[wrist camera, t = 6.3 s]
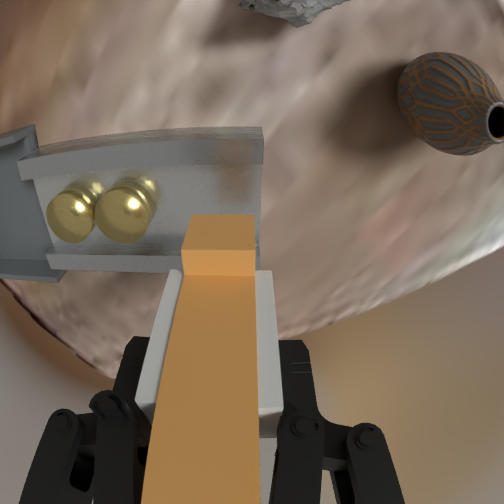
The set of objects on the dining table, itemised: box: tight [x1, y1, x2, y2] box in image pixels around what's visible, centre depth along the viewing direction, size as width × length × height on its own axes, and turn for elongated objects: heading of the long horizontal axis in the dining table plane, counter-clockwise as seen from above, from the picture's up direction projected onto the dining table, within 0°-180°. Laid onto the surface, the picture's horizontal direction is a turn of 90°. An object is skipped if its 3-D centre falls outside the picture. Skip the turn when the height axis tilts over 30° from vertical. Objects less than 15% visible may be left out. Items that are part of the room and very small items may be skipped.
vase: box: [397, 52, 504, 156], centre depth 14 cm, size 7×7×9 cm
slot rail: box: [17, 127, 264, 273], centre depth 21 cm, size 10×18×4 cm, turn 89°
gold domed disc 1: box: [46, 184, 98, 244], centre depth 20 cm, size 4×4×2 cm
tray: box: [0, 125, 66, 283], centre depth 21 cm, size 14×11×3 cm
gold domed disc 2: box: [94, 180, 155, 244], centre depth 20 cm, size 4×4×2 cm
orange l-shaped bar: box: [141, 214, 261, 504], centre depth 11 cm, size 6×3×13 cm, turn 179°
